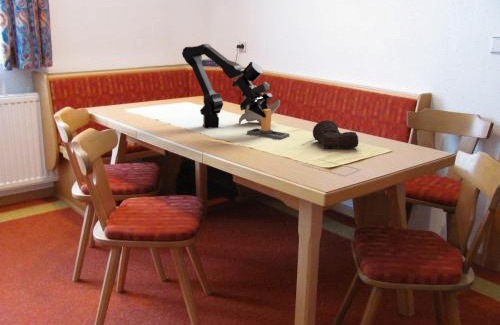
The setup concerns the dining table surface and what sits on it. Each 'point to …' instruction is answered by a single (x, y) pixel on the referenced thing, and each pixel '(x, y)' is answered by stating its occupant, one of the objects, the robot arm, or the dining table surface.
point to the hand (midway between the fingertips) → (267, 116)
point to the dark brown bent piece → (334, 136)
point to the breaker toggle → (266, 122)
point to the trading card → (332, 172)
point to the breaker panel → (254, 132)
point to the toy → (253, 116)
